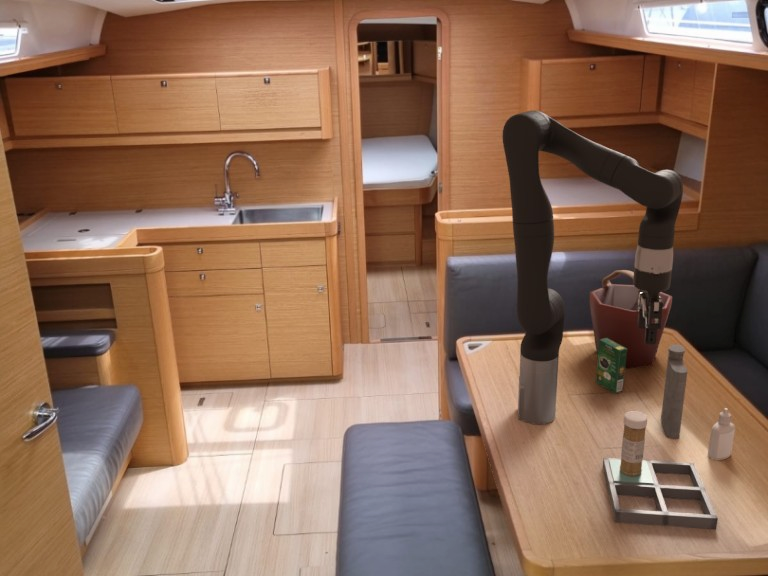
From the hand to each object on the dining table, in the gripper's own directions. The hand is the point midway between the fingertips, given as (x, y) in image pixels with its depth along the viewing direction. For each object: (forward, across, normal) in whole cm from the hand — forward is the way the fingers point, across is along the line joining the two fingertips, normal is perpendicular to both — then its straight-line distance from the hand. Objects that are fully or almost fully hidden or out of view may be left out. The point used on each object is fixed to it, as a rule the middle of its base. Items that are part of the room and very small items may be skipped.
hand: (646, 335), depth 159 cm
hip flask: (+28, -12, +10) cm, 32 cm away
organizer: (+28, +19, +1) cm, 34 cm away
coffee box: (+28, -29, -2) cm, 41 cm away
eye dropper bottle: (+28, +2, +18) cm, 34 cm away
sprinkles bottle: (+26, +14, -4) cm, 30 cm away
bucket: (+28, -50, +6) cm, 58 cm away
